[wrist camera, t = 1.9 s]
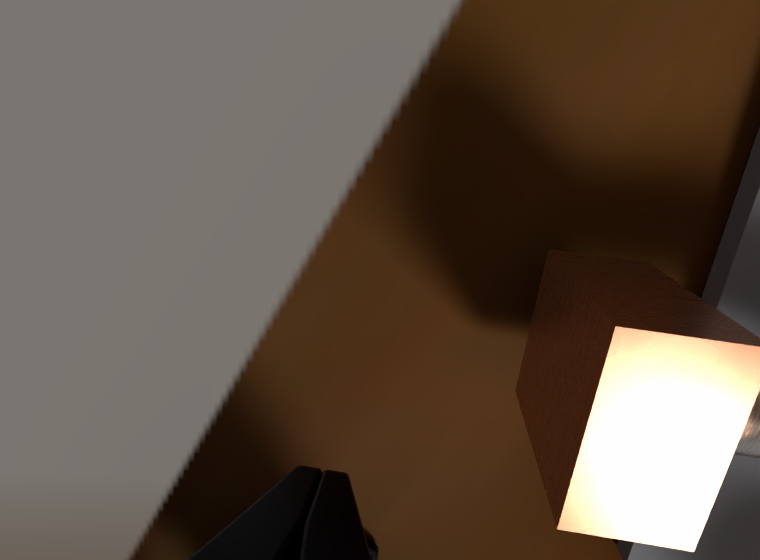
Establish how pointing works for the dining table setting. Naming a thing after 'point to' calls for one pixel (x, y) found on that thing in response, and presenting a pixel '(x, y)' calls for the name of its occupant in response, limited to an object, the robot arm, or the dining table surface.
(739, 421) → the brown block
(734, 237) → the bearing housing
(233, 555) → the robot arm
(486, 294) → the dining table surface
